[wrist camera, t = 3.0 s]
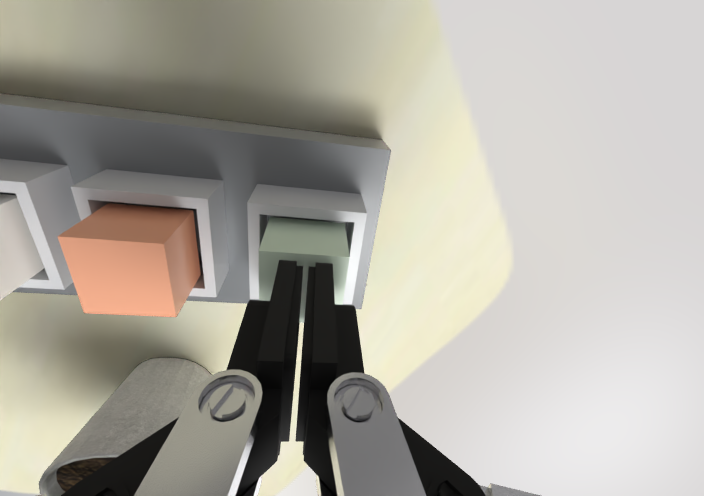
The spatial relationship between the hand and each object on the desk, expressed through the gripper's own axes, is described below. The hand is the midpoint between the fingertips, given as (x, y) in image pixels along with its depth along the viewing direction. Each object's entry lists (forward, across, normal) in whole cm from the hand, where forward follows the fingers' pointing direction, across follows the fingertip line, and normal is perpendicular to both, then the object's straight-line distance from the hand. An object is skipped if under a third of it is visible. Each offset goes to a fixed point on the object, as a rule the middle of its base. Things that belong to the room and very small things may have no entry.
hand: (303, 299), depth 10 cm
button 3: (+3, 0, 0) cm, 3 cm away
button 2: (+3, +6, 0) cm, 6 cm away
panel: (+6, +6, 0) cm, 8 cm away
